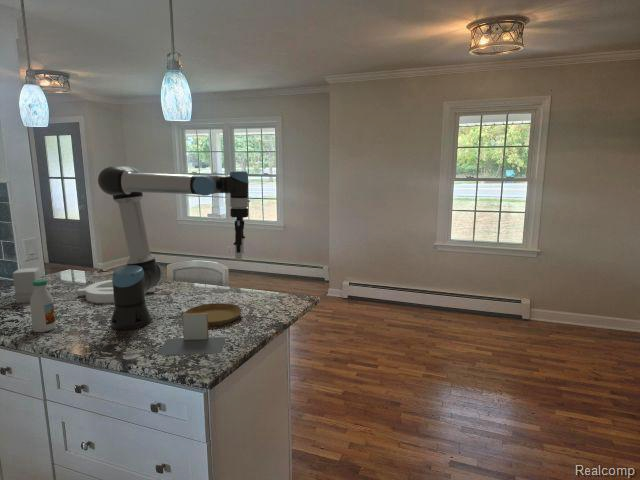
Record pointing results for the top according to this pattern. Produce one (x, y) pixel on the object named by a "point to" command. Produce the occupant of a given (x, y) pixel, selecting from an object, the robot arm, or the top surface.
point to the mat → (192, 346)
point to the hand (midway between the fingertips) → (239, 256)
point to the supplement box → (25, 283)
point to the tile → (195, 326)
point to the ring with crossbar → (101, 292)
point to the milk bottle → (42, 308)
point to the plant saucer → (217, 313)
